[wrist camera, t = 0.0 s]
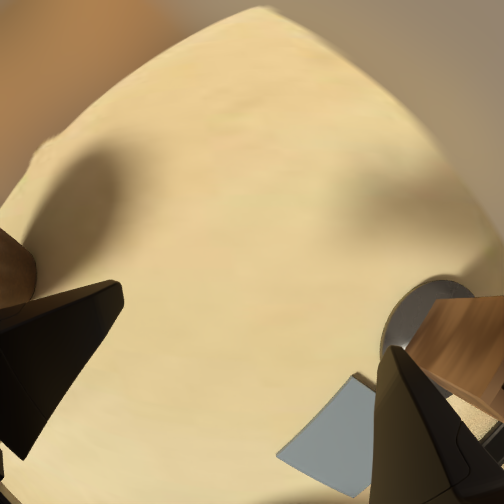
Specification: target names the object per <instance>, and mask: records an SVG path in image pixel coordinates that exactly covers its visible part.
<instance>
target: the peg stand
mask: <svg viewBox="0 0 504 504" xmlns="http://www.w3.org/2000/svg"><path fill="white" fill-rule="evenodd" d="M454 298H475V297H474V295H473V294H472V293H471V292H470V291H469V290H468V289H467V288H465V287H464V286H462V285H461V284H459V283H456V282H453V281H448V280H439V281H432V282H428V283H424V284H422V285H420V286H417V287H416V288H414V289H412V290H411V291H409V292H408V293H407V294H406V295H405V296H404V297H403V298H402V299H401V300H400V301H399V302H398V303H397V305H396V306H395V307H394V309H393V310H392V312H391V314H390V315H389V317H388V319H387V322H386V324H385V327H384V330H383V333H382V337H381V343H380V361H381V359H382V357H383V355H384V353H385V351H386V349H387V348H388V346H390V345H396V346H401V347H402V348H403V349H405V348H406V346H407V345H408V344H409V342H410V341H411V339H412V338H413V336H414V335H415V333H416V332H417V330H418V329H419V327H420V325H421V324H422V322H423V321H424V319H425V317H426V316H427V314H428V312H429V311H430V309H431V307H432V306H433V304H434V302H435V301H436V299H454ZM427 377H428V376H427ZM428 378H429V377H428ZM429 379H430V378H429ZM430 381H431V382H432V383H433V384H434V385H435V387H436V388H437V389H438V390H439V392H440V393H441V394H442V395H443V397H444V398H445V399H446V398H448V397H449V396H451V395H453V393H451V392H449V391H448V390H446V389H444V388H443V387H441V386H440V385H438V384H437V383H436V382H434V381H433V380H432V379H430Z"/></svg>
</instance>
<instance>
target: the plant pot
mask: <svg viewBox="0 0 504 504" xmlns="http://www.w3.org/2000/svg"><path fill="white" fill-rule="evenodd" d="M35 284H36V266H35V261H34V258H33V256H32V255H31V253H30V252H29V251H27V250H26V249H25V248H24V247H23V246H22V245H21V244H20V243H18V242H17V241H16V240H15V239H14V238H12V237H11V236H10V235H9V234H7V233H6V232H5V231H4V230H2V229H1V228H0V309H2V308H6V307H10V306H14V305H18V304H22V303H25V302H26V303H27V302H28V301H29V300H30V298H31V297H32V295H33V292H34V289H35Z"/></svg>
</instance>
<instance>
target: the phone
mask: <svg viewBox="0 0 504 504" xmlns="http://www.w3.org/2000/svg"><path fill="white" fill-rule="evenodd" d="M479 442H480V443H481V445H482V446H483V447H484V448H485V449H486V450H487V451H488V453H489V454H490V455H491V456H492V457H493V458H494V459H495V460H496V462H497V463H498V464H499V465H500V466H502V465H503V464H504V423H502V422H500V421H498V422H497V423H496V424H495V425H494V426H493V428H492V429H491V430H490V431H489V432H488V433H487V434H486V435H485V436H484V437H483V438H482V439H481V440H480V441H479Z"/></svg>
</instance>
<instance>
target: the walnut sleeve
mask: <svg viewBox="0 0 504 504" xmlns="http://www.w3.org/2000/svg"><path fill="white" fill-rule="evenodd" d="M404 350H405V351H406V352H407V353H408V354H409V356H410V357H411V358H412V359H413V360H414V361H415V363H416V364H417V365H418V366H419V367H420V369H421V370H422V371H423V372H424V373H425V375H426V376H428V377H429V378H430V379H432V380H433V381H434V382H436V383H437V384H438V385H440V386H441V387H443V388H444V389H446V390H448V391H449V392H451V393H453V394H454V395H456V396H458V397H459V398H461V399H463V400H464V401H466V402H468V403H470V404H471V405H473V406H475V407H476V408H478V409H480V410H481V411H483V412H485V413H487V414H488V415H490V416H492V417H493V418H495V419H497V420H499V421H500V422H502V423H504V296H491V297H475V298H454V299H436V301H435V302H434V304H433V306H432V307H431V309H430V311H429V312H428V314H427V316H426V317H425V319H424V321H423V322H422V324H421V325H420V327H419V329H418V330H417V332H416V333H415V335H414V336H413V338H412V339H411V341H410V342H409V344H408V345H407V346H406V348H405V349H404Z"/></svg>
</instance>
